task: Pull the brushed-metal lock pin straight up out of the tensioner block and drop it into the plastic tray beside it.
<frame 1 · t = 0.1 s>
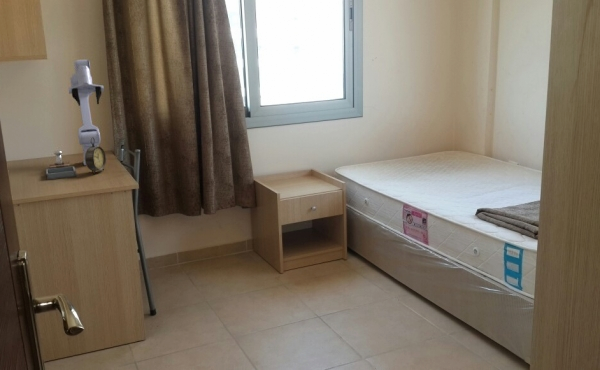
hand: (88, 103, 273), 32 cm above the table, tool tilted 50°, fingers open, 7 cm apart
tray: (61, 175, 283), on the table
alarm clock: (96, 172, 287), on the table
tensioner block: (60, 170, 293), on the table
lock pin: (59, 161, 292), in the tensioner block
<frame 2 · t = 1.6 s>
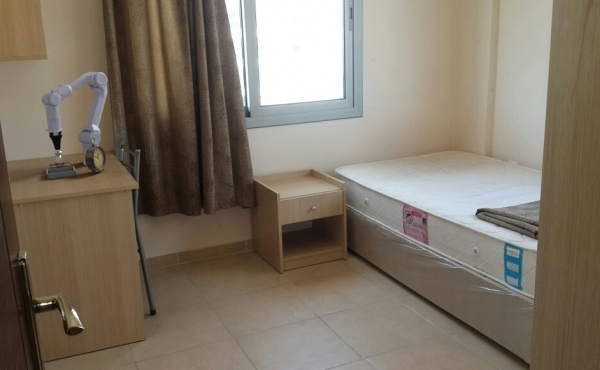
hand: (57, 148, 290), 10 cm above the table, tool pointing down, fingers open, 7 cm apart
nothing on the table moved.
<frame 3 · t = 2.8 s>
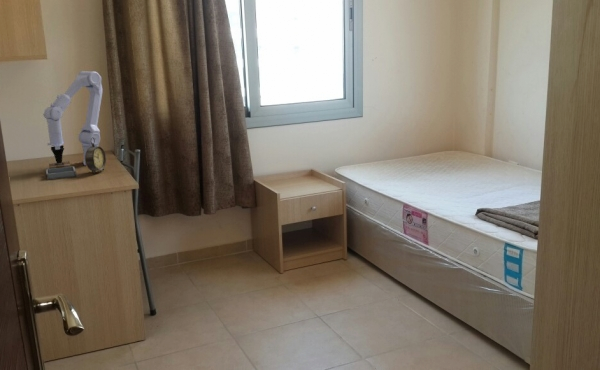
hand: (59, 162, 292), 4 cm above the table, tool pointing down, fingers closed on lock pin, 3 cm apart
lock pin: (59, 161, 292), in the tensioner block, touching gripper
everything else where it was.
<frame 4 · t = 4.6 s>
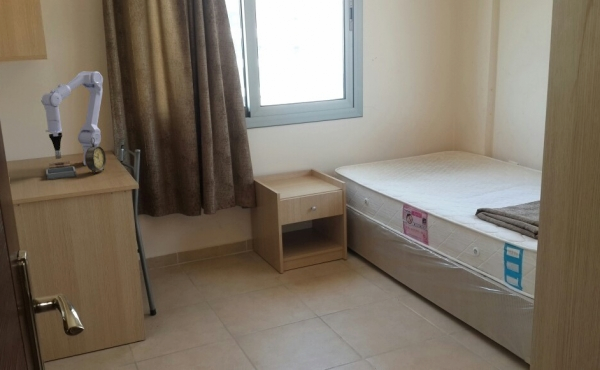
hand: (57, 149, 287), 10 cm above the table, tool pointing down, fingers closed on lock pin, 3 cm apart
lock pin: (57, 148, 287), point 11 cm above the table, touching gripper
everything else where it was.
when the fingers open (6 cm above the table, at t = 6.5 s): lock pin drops 2 cm, resting on tray.
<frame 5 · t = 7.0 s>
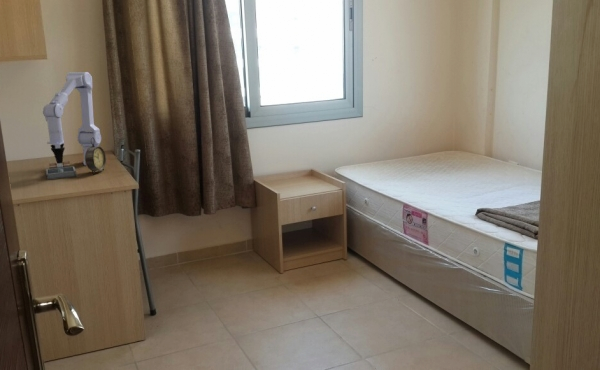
hand: (59, 161, 281), 6 cm above the table, tool pointing down, fingers open, 7 cm apart
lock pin: (59, 164, 282), in the tray, point 5 cm above the table
everything else where it was.
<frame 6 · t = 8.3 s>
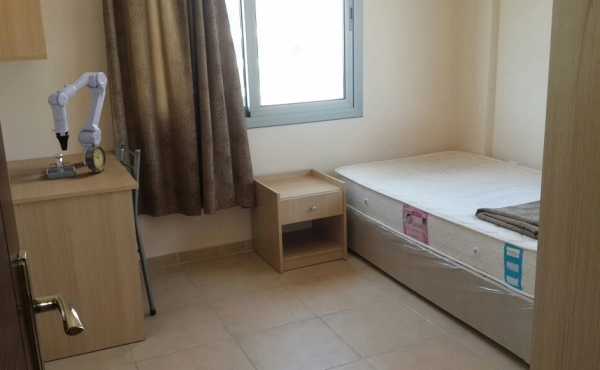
hand: (64, 149, 289), 10 cm above the table, tool pointing down, fingers open, 7 cm apart
nothing on the table moved.
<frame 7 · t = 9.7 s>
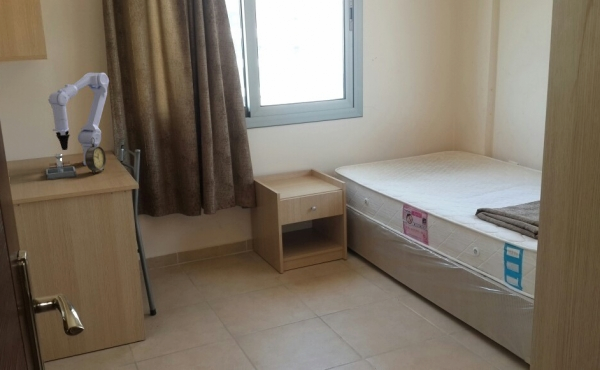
hand: (64, 148, 290), 10 cm above the table, tool pointing down, fingers open, 7 cm apart
nothing on the table moved.
at the end: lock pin inside the target area on the tray (0.5 cm from its centre), point 5.1 cm above the tray's base; the gripper is holding nothing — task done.
